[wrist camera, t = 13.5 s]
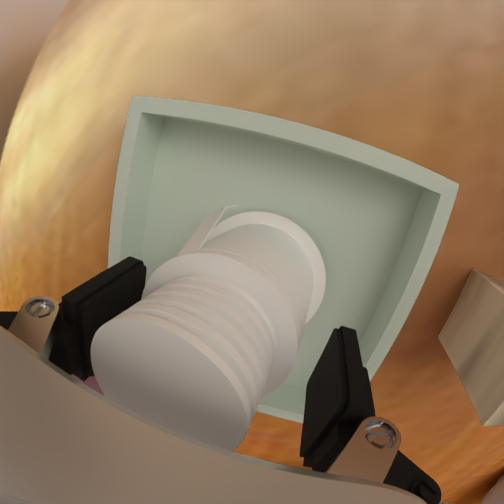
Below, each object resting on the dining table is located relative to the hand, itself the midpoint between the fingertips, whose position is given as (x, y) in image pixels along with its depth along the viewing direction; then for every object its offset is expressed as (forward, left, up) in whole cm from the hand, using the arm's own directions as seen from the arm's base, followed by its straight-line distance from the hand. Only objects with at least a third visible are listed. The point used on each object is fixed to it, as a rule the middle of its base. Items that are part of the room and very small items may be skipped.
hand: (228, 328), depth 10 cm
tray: (0, 0, -6) cm, 6 cm away
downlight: (0, 0, -6) cm, 6 cm away
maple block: (-15, -1, -6) cm, 16 cm away
